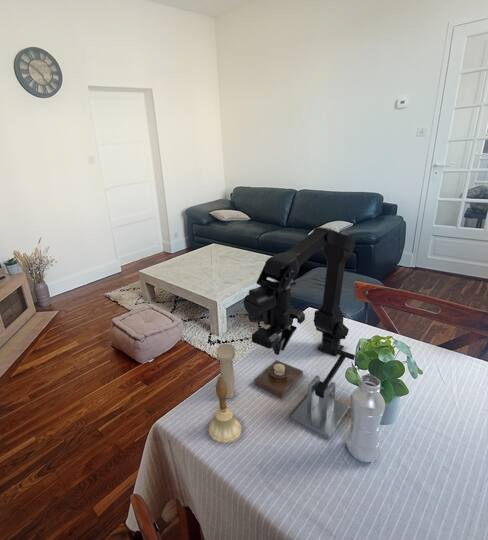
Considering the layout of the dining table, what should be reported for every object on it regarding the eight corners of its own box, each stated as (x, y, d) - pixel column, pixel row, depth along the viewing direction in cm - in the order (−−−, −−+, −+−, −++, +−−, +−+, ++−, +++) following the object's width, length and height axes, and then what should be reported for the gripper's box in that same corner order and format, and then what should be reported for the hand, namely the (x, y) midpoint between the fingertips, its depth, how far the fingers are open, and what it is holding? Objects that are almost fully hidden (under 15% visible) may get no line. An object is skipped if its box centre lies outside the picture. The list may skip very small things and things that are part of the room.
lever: (336, 352, 94) (336, 346, 93) (355, 359, 91) (355, 352, 90) (309, 392, 85) (309, 386, 84) (329, 401, 82) (328, 394, 80)
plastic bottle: (365, 472, 71) (374, 396, 64) (339, 449, 76) (345, 377, 69) (385, 458, 73) (396, 384, 66) (358, 436, 79) (366, 366, 72)
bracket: (312, 393, 94) (313, 364, 90) (349, 410, 87) (352, 379, 83) (290, 419, 86) (291, 388, 82) (329, 440, 79) (331, 407, 75)
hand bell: (232, 448, 79) (228, 394, 73) (202, 435, 83) (196, 382, 78) (247, 423, 85) (244, 372, 80) (218, 412, 90) (214, 362, 84)
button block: (276, 364, 106) (276, 355, 105) (303, 376, 100) (303, 366, 99) (254, 385, 99) (254, 375, 97) (282, 398, 93) (282, 388, 91)
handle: (237, 387, 98) (234, 343, 93) (236, 403, 92) (234, 357, 87) (220, 387, 99) (217, 343, 94) (219, 403, 93) (215, 357, 88)
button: (277, 367, 100) (277, 362, 100) (286, 371, 98) (286, 366, 98) (271, 372, 98) (271, 367, 98) (281, 377, 96) (281, 372, 96)
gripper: (272, 285, 102) (272, 329, 107) (234, 308, 90) (236, 357, 95) (306, 293, 95) (305, 341, 100) (270, 320, 82) (270, 373, 88)
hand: (279, 352), depth 96 cm, fingers closed
